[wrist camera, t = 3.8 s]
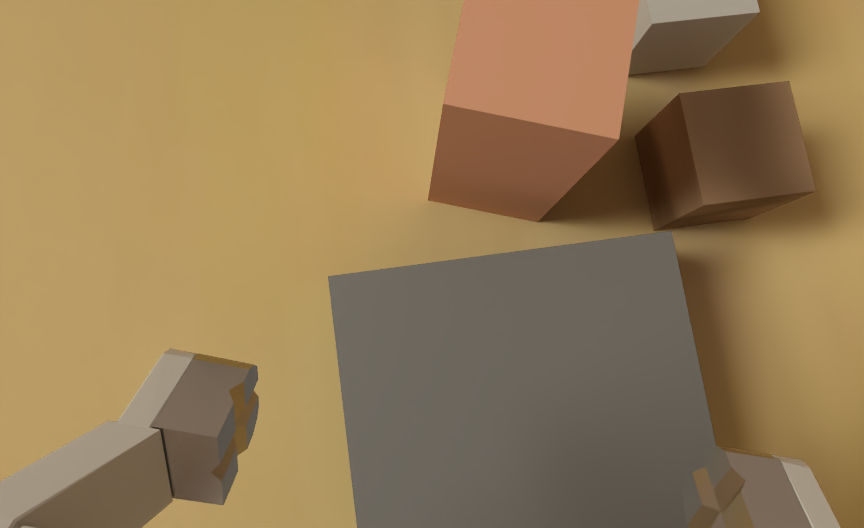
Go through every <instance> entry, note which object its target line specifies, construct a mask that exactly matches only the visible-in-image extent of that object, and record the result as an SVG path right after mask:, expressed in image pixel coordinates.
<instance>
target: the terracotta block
mask: <svg viewBox="0 0 864 528" xmlns="http://www.w3.org/2000/svg"><path fill="white" fill-rule="evenodd" d="M638 6H639V0H464V3H463V8H462V13H461V18H460V23H459V28H458V33H457V38H456V43H455V48H454V53H453V58H452V63H451V68H450V73H449V78H448V83H447V88H446V93H445V98H444V102H443V108H442V115H441V121H440V127H439V133H438V140H437V146H436V152H435V158H434V165H433V171H432V177H431V183H430V190H429V196H428V200H430V201H435V202H440V203H445V204H450V205H455V206H460V207H465V208H470V209H475V210H480V211H485V212H490V213H495V214H500V215H505V216H510V217H515V218H520V219H525V220H530V221H535V222H538V221H539V220H540V219H541V218H542V217H543V216H544V215H545V214H546V213H547V212H548V211H549V210H550V209H551V208H552V207H553V206H554V205H555V204H556V203H557V202H558V201H559V200H560V199H561V198H562V197H563V196H564V195H565V194H566V193H567V192H568V191H569V190H570V189H571V188H572V187H573V186H574V185H575V184H576V183H577V182H578V181H579V180H580V179H581V178H582V177H583V176H584V175H585V173H586V172H587V171H588V170H589V169H590V168H591V167H592V166H593V165H594V164H595V163H596V162H597V161H598V160H599V159H600V158H601V157H602V156H603V155H604V154H605V153H606V152H607V151H608V150H609V149H610V148H611V147H612V146H613V145H614V144H615V143H616V142H617V141H618V140H619V136H620V129H621V122H622V115H623V109H624V102H625V95H626V88H627V81H628V74H629V67H630V60H631V54H632V47H633V40H634V33H635V26H636V19H637V12H638Z"/></svg>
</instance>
